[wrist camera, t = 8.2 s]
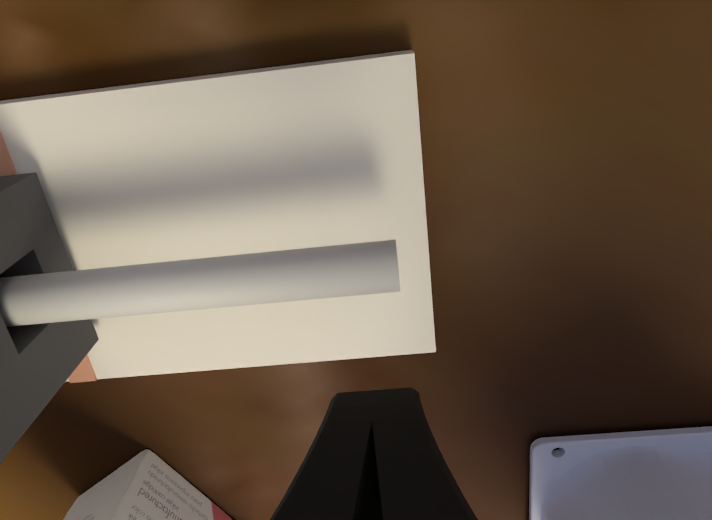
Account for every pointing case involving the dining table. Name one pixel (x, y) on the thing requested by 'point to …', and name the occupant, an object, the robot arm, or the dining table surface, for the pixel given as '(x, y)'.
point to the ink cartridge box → (144, 495)
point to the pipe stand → (231, 217)
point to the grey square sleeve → (36, 341)
